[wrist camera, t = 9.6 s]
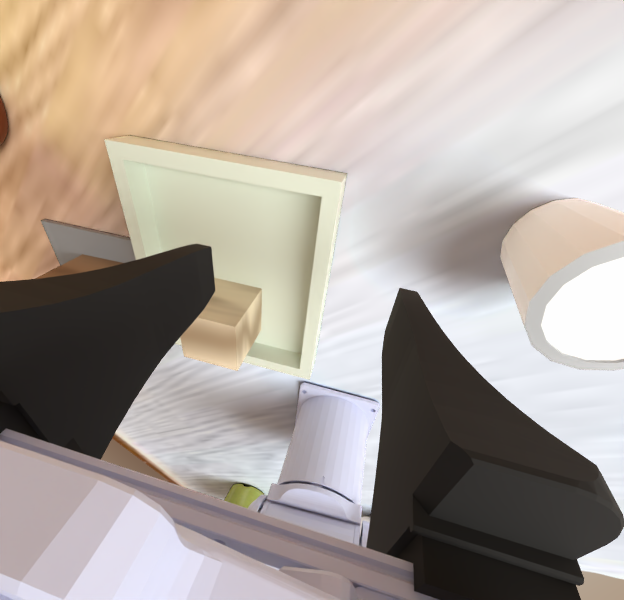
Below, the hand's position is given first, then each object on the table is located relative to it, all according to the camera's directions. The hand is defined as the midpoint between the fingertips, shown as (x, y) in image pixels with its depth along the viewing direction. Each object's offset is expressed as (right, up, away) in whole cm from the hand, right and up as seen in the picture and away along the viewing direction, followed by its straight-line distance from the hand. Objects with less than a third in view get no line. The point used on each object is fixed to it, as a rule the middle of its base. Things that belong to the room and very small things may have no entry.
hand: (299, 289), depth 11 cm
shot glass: (+15, +3, +7) cm, 17 cm away
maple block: (-6, -1, +15) cm, 16 cm away
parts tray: (-6, +2, +13) cm, 14 cm away
